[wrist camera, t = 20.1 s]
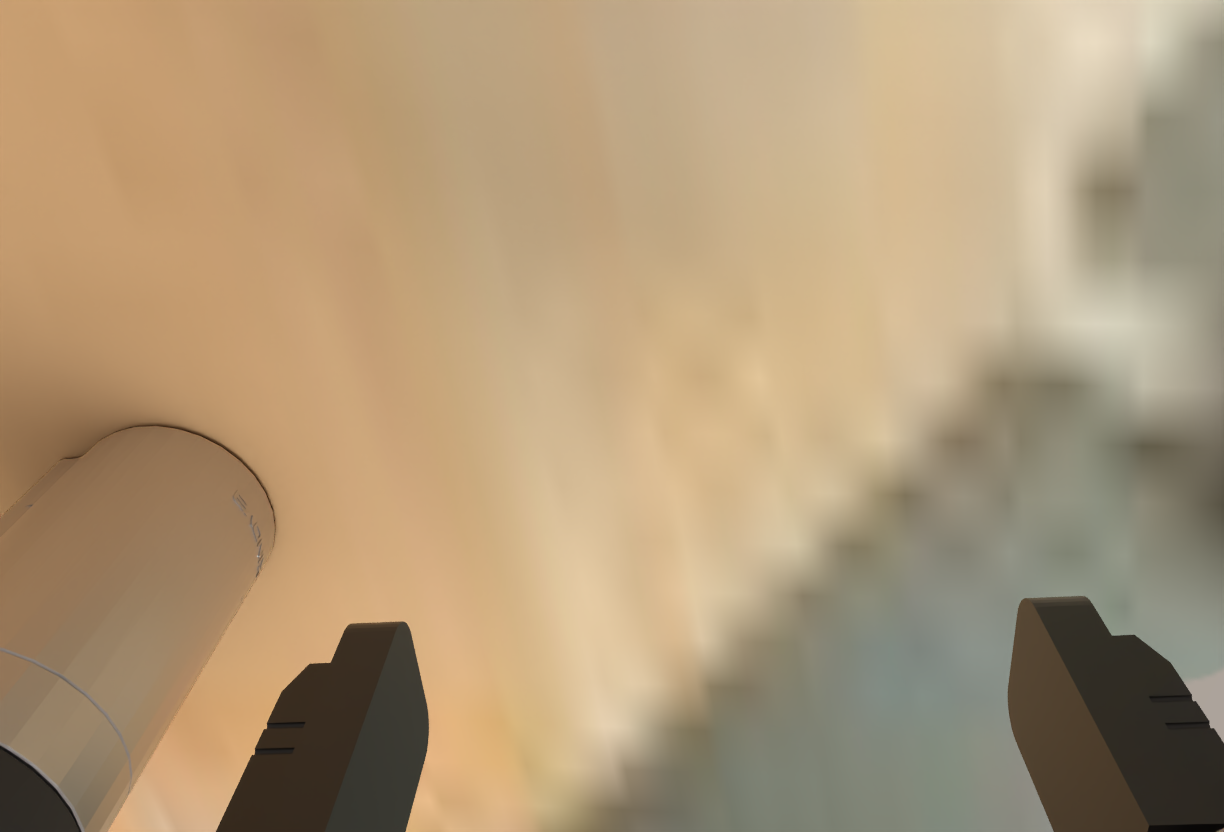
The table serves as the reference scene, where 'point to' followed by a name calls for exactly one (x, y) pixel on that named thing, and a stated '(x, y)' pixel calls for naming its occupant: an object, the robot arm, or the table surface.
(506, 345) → the table surface
